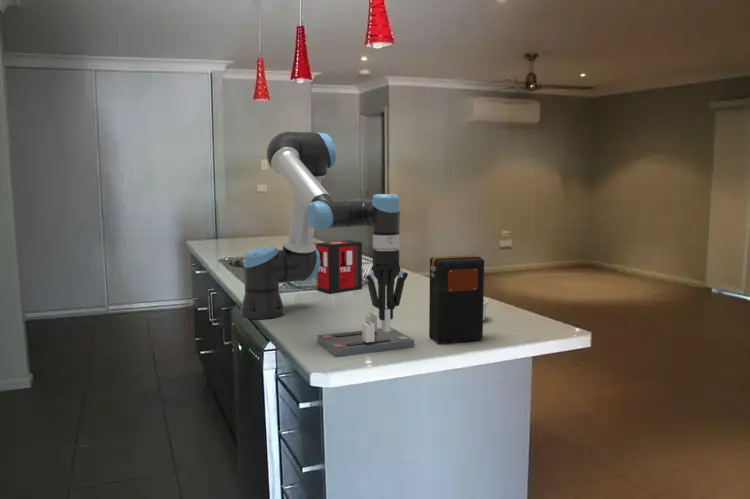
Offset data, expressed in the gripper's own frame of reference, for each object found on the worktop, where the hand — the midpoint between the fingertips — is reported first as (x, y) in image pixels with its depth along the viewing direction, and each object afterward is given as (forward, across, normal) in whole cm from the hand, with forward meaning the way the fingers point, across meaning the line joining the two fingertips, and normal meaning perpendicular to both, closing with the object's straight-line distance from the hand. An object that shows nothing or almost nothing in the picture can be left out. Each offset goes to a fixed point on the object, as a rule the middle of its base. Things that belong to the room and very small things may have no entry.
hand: (385, 330), depth 182 cm
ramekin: (+5, +39, +19) cm, 43 cm away
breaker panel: (+5, -4, +5) cm, 8 cm away
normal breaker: (+2, 0, +10) cm, 10 cm away
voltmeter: (+5, +23, -1) cm, 23 cm away
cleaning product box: (+5, +17, +85) cm, 87 cm away
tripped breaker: (+2, -5, 0) cm, 6 cm away
